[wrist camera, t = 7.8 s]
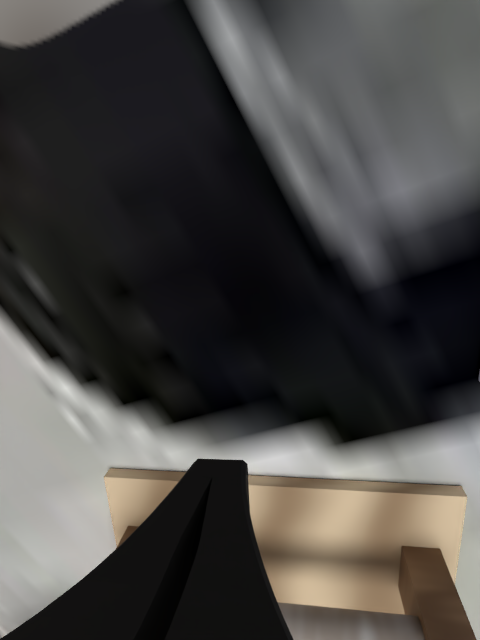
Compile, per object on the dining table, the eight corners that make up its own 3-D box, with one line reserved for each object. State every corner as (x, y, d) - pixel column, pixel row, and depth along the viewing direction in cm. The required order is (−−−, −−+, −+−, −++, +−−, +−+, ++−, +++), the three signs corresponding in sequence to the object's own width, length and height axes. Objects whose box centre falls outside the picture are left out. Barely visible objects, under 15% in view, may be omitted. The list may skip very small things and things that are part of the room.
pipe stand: (461, 486, 21) (519, 590, 16) (442, 621, 24) (485, 750, 19) (109, 468, 24) (53, 550, 19) (131, 591, 27) (88, 693, 22)
